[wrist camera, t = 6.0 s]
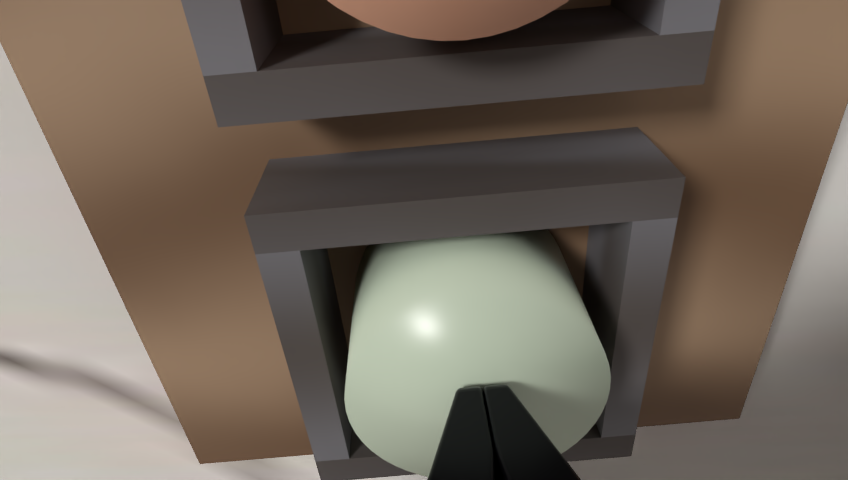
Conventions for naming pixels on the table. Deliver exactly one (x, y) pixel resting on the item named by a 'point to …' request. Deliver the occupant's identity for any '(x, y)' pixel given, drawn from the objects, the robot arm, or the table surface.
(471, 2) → the terracotta button
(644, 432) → the table surface
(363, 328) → the sage button
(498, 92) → the button panel
